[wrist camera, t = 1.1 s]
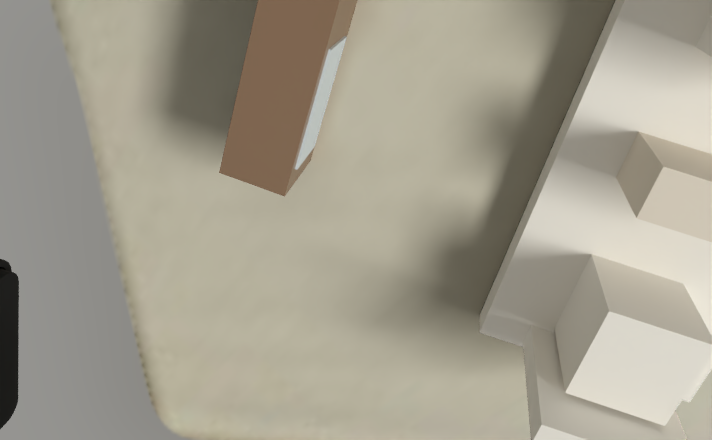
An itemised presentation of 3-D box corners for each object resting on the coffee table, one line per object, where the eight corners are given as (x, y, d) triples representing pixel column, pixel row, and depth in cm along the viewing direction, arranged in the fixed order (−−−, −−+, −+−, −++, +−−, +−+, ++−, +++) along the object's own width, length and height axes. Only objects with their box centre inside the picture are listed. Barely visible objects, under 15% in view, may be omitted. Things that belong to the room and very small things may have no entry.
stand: (676, -142, 23) (763, -169, 15) (962, -58, 22) (1189, -47, 15) (479, 315, 32) (477, 431, 24) (680, 381, 31) (738, 519, 24)
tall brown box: (336, -207, 24) (306, -232, 20) (414, -180, 24) (399, -200, 20) (252, 138, 30) (216, 171, 26) (313, 159, 30) (286, 197, 26)
